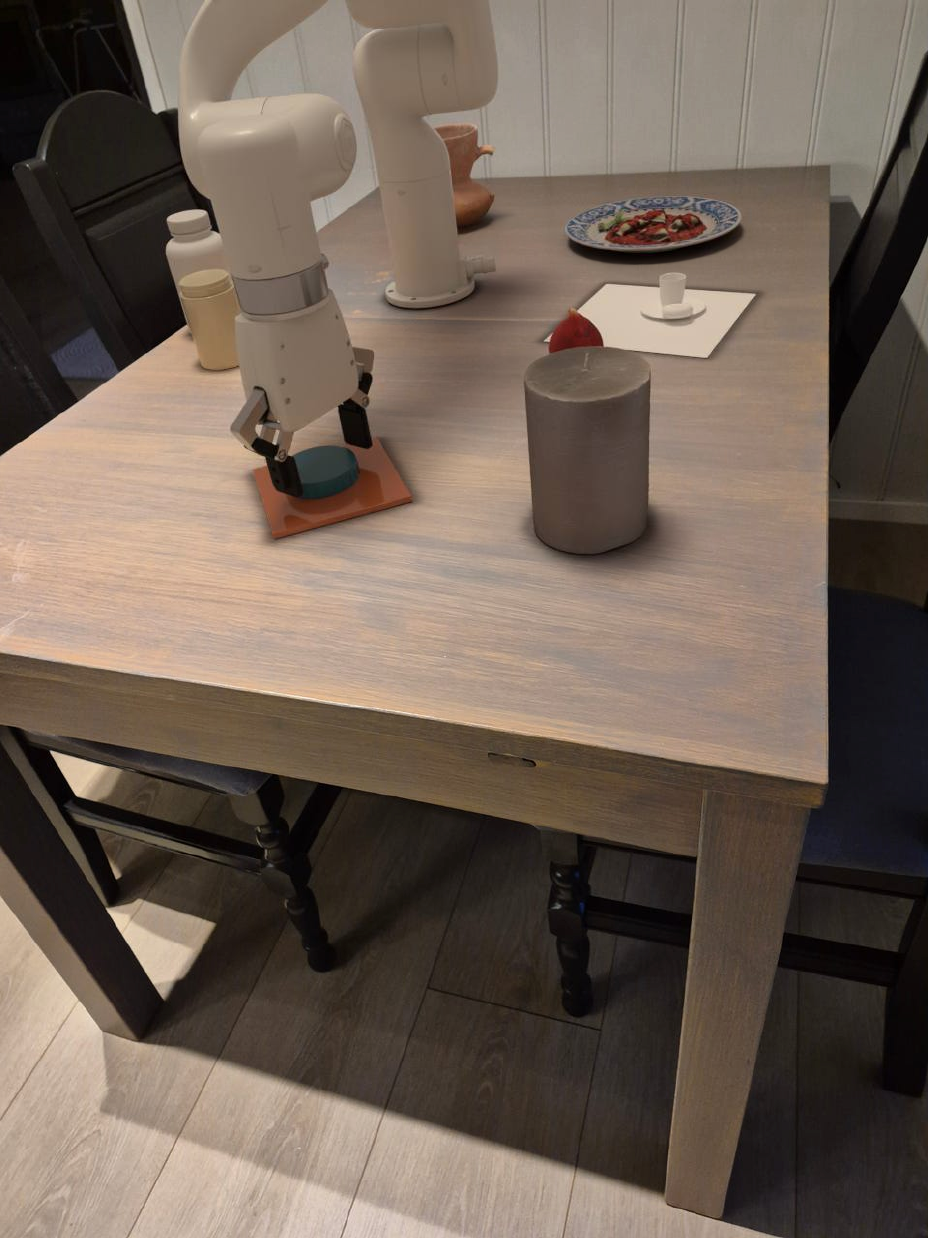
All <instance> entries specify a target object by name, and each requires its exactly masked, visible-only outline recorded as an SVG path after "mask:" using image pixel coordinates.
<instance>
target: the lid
mask: <svg viewBox="0 0 928 1238" xmlns="http://www.w3.org/2000/svg"><path fill="white" fill-rule="evenodd" d="M291 456H292V457H294V459H295V462H296V465H297V469H298V473H299V477H300V480H301V484H302V488H303V494H302V495H301V496H300V497H298V498H303V499H317V498H324V497H329V496H332V495H335V494H338V493H340V492H342V491H344V490H346V489H347V488H349V487H350V486H352V485H353V484H354V483H355V481H356V480H357V478H358V475H359V467H358V462H357V459H356V457H355V454H354V453H353V452H352V451H351V450H350V449H348V448H345V447H343V446H341V445H328V444H327V445H319V446H312V447H309V448H305V449H303V450H300V451H298V452H296V453H294V454H292V455H291Z"/></svg>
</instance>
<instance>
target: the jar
mask: <svg viewBox="0 0 928 1238" xmlns="http://www.w3.org/2000/svg"><path fill="white" fill-rule="evenodd" d="M230 278H231V277H230V274H229V273H228V272H227V271H226V270H221V269H211V270H204V271H199V272H195V273H192V274H190V275H187V276H185V277H184V278H182V279H181V280H180V282H179V286H180V290H181V292H180V298H181V301H182V305H183V308H184V311H185V314H186V317H187V321H188V324H189V327H190V330H191V333H192V334H191V333H190V334H191V336H192V339H193V340H192V341H193V342H194V343H193V344H194V345H195V349H196V352H197V355H198V359H199V362H200V364H201V366H202V368H204V369H205V370H206V369H207V370H211V371H221V370H228V369H233V368H236V367H239V362H238V356H237V348H236V338H235V317H236V316H237V315H239V314H241V309H240V306H239V302H238V298H237V295H236V291H235V287H234V284H233V281H230ZM182 305H181V306H182Z"/></svg>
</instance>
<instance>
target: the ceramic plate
mask: <svg viewBox="0 0 928 1238" xmlns="http://www.w3.org/2000/svg"><path fill="white" fill-rule="evenodd" d="M742 218H743V217H742V212H741V210H739V209H738V208H737V207H735V206H734V205H732V204H730V203H727V202H724V201H721V200H717V199H713V198H708V197H698V196H686V195H684V196H679V195H678V196H676V195H672V196H671V195H670V196H669V195H665V196H664V195H663V196H662V195H661V196H650V197H637V198H631V199H625V200H620V201H614V202H610V203H605V204H602V205H599V206H596V207H593V208H590V209H587V210H585V211H582V212H581V213H579V214H577V215H575V216H574V217H572V218H570V219H569V221H568V222H567V223H566V224H565V228H564V232H565V235H566V236H567V237H568V238H569V239H571V240H572V241H573V242H575V243H578V244H580V245H582V246H586V247H591V248H594V249H599V250H610V251H612V252H619V253H629V254H653V253H661V252H669V251H674V250H679V249H683V248H687V247H690V246H692V245H698V244H701V243H704V242H708V241H711V240H715V239H717V238H719V237H721V236H724V235H726V234H728V233H730V232H731V231H734V229H736V228H737V227H738V226H739V225H740V224H741V222H742Z"/></svg>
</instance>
